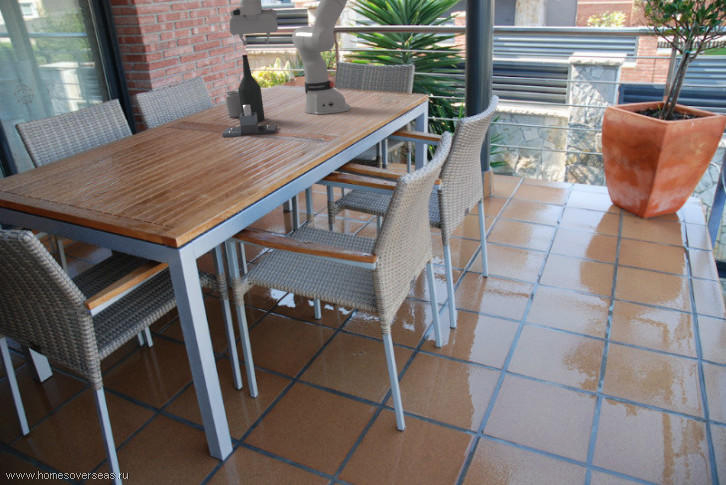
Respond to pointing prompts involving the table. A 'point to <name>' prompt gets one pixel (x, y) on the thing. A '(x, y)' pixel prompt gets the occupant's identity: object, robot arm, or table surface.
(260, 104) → the bottle
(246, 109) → the pin
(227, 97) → the can
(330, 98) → the robot arm
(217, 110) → the table surface
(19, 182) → the table surface
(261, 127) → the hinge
